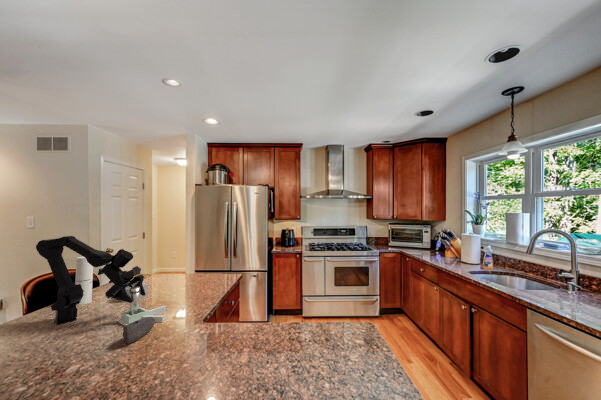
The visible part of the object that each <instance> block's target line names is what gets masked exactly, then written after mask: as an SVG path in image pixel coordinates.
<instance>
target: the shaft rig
mask: <svg viewBox="0 0 601 400" xmlns="http://www.w3.org/2000/svg"><path fill="white" fill-rule="evenodd" d="M166 311H168V306H167V305H161V306H158V307H155V308H152V309H149V310H147V309H146V308H143V307H141V306H140V313H138V314H135V315H131V316H130V310H127V311H123V312H121V316H120V319H117V323H119V324H121V325H123V327H124V326H126V325H128V324H130V323H132V322H134V321H137V320H140V319H143V318H146V317H153V318H154V319H155V323H163V322H165V321H166V315H165V314H161V313H164V312H166Z"/></svg>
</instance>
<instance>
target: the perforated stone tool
mask: <svg viewBox="0 0 601 400" xmlns="http://www.w3.org/2000/svg"><path fill="white" fill-rule="evenodd" d="M155 323H156V322H155V319H154V318H153V317H146V318H143V319H140V320H137V321H134V322H132V323H130V324H128V325H126V326H124V325H123V327H122V331H123V332H122V337H123V338H124V339H123V342H124V343H126V344H128V345H129V344H131V343H134V342H136V341H138V340H139V339H142V337H144V336H145V335H147V334H148V333H149V332H150V331H151V330H152V329H153V328H154V326H155Z"/></svg>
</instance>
